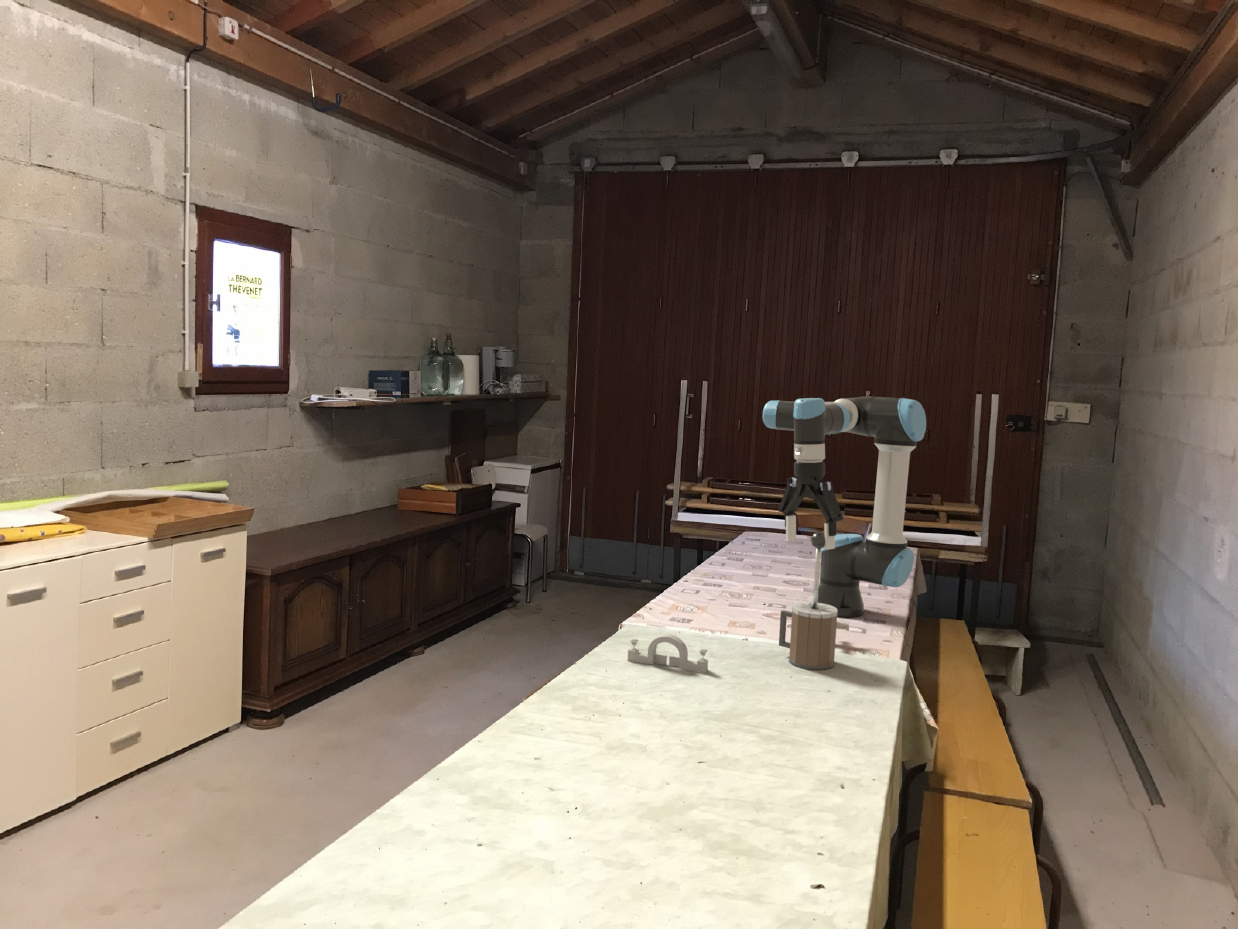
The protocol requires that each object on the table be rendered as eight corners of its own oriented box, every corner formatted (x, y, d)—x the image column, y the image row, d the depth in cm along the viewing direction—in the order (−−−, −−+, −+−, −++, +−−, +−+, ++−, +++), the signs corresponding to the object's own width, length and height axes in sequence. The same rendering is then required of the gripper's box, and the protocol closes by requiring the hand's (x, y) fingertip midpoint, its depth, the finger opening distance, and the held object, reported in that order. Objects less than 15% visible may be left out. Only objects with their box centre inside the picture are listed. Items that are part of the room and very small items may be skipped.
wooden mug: (790, 649, 247) (793, 597, 245) (841, 663, 238) (845, 608, 236) (768, 659, 239) (771, 604, 237) (820, 673, 230) (824, 617, 228)
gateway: (707, 672, 229) (709, 640, 228) (704, 675, 227) (706, 642, 226) (630, 660, 236) (632, 628, 235) (627, 662, 234) (628, 631, 233)
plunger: (807, 613, 241) (812, 527, 239) (836, 619, 236) (842, 532, 234) (791, 619, 235) (797, 531, 233) (820, 626, 230) (826, 536, 228)
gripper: (764, 458, 245) (765, 539, 247) (834, 465, 224) (835, 554, 226) (786, 456, 249) (787, 536, 251) (857, 463, 228) (857, 550, 230)
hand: (809, 545), depth 238 cm, fingers open, 13 cm apart
